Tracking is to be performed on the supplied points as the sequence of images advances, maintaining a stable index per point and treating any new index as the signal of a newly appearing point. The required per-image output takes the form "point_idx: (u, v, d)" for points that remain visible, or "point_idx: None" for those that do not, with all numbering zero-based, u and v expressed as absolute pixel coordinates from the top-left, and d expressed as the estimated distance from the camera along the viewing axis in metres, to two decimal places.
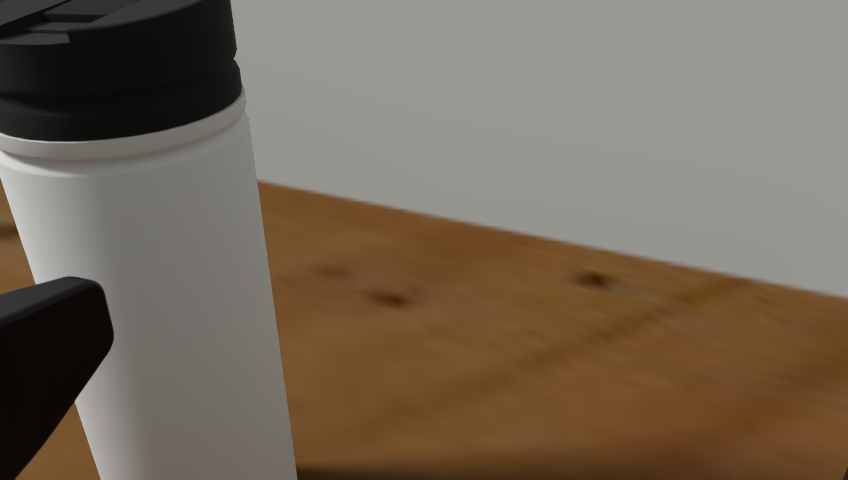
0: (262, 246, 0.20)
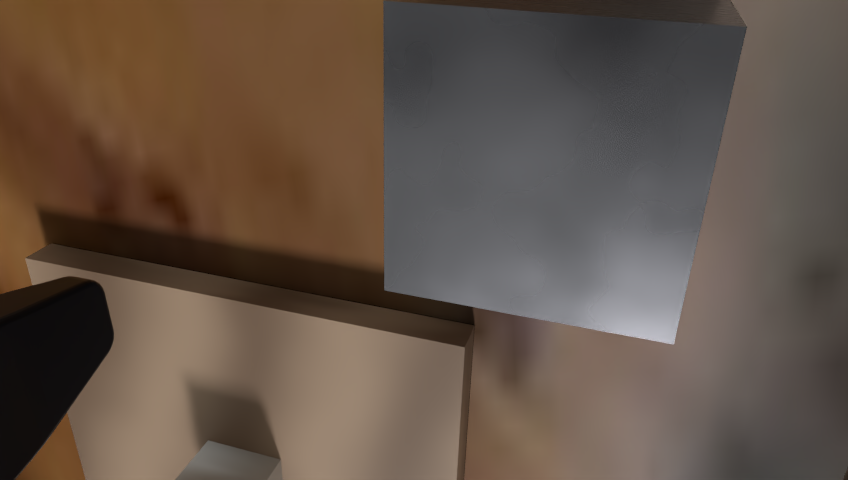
0: None
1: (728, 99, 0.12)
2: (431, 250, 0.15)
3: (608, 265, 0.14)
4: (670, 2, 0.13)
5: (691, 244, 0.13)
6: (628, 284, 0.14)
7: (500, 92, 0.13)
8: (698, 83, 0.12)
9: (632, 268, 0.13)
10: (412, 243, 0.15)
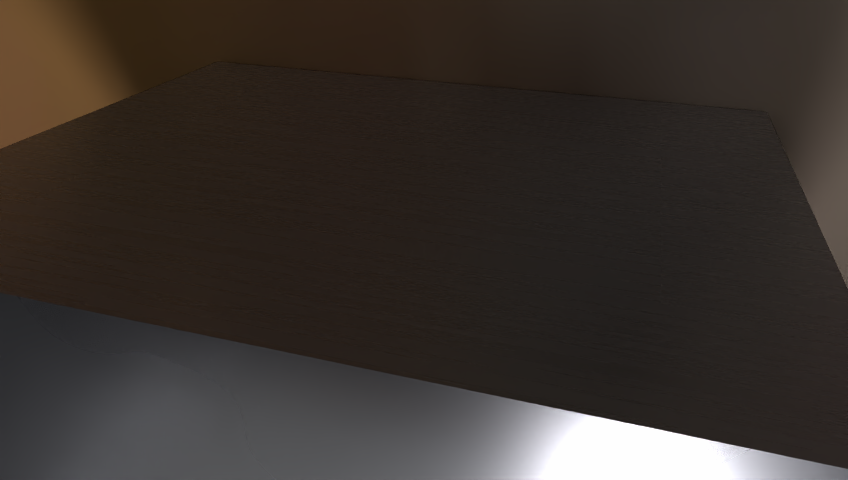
0: None
1: None
2: None
3: None
4: (638, 202, 0.05)
5: None
6: None
7: None
8: None
9: None
10: None
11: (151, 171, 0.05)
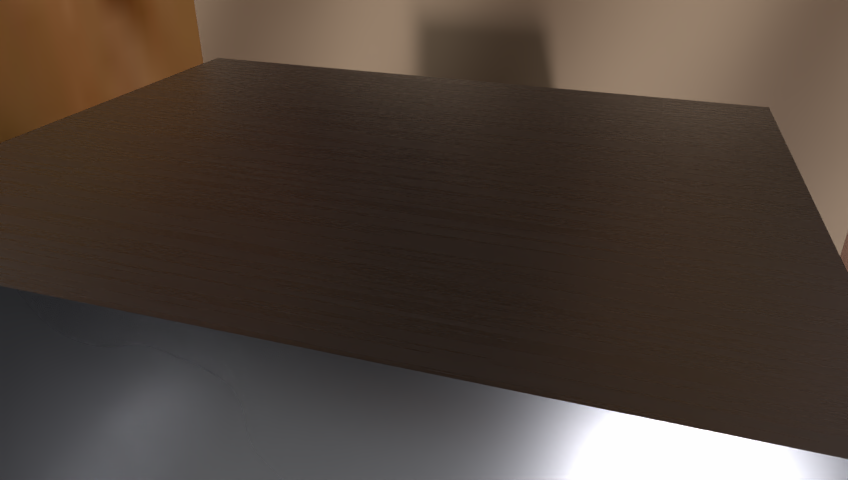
0: None
1: None
2: None
3: None
4: (640, 196, 0.05)
5: None
6: None
7: None
8: None
9: None
10: None
11: (151, 166, 0.05)
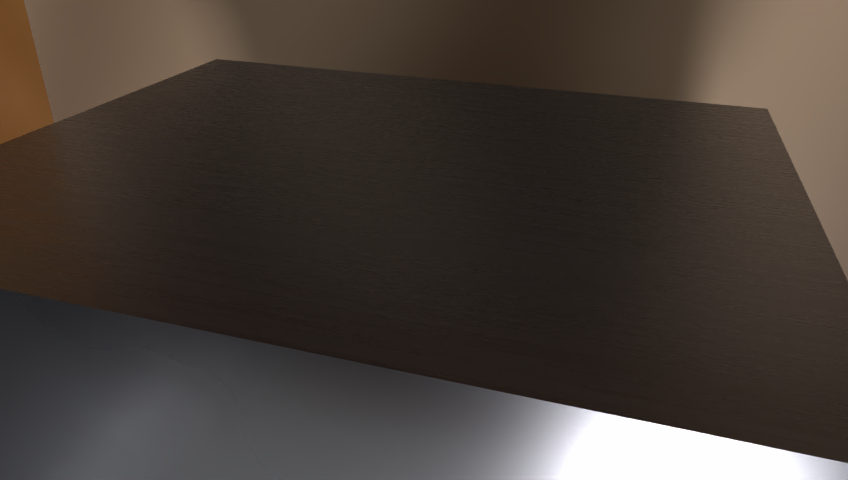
0: None
1: None
2: None
3: None
4: (638, 198, 0.05)
5: None
6: None
7: None
8: None
9: None
10: None
11: (150, 169, 0.05)
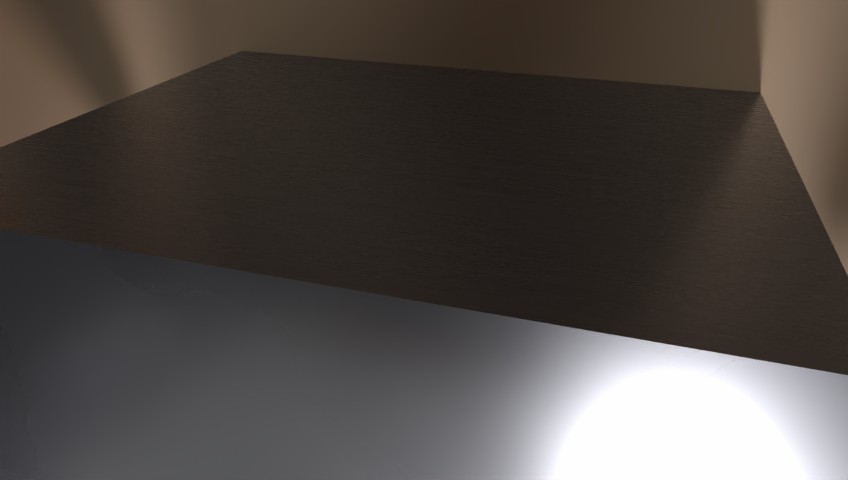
0: None
1: None
2: None
3: None
4: (641, 168, 0.05)
5: None
6: None
7: (185, 440, 0.05)
8: None
9: None
10: None
11: (194, 144, 0.06)
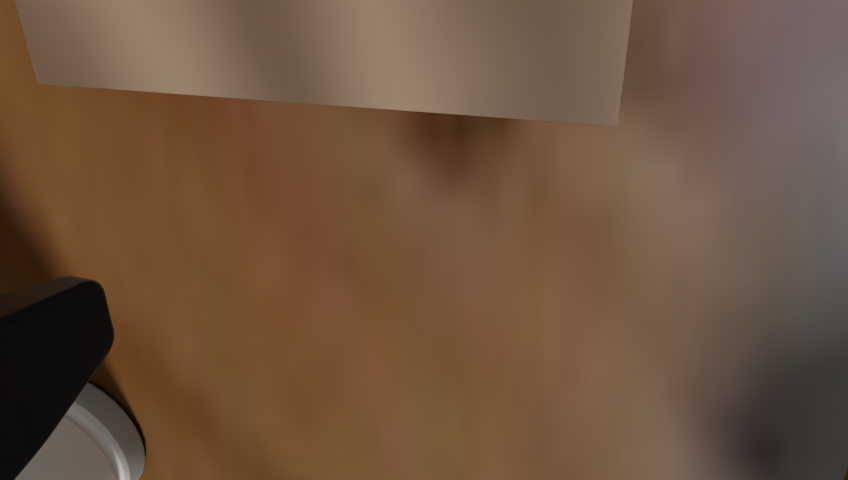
0: None
1: None
2: None
3: None
4: None
5: None
6: None
7: None
8: None
9: None
10: None
11: None
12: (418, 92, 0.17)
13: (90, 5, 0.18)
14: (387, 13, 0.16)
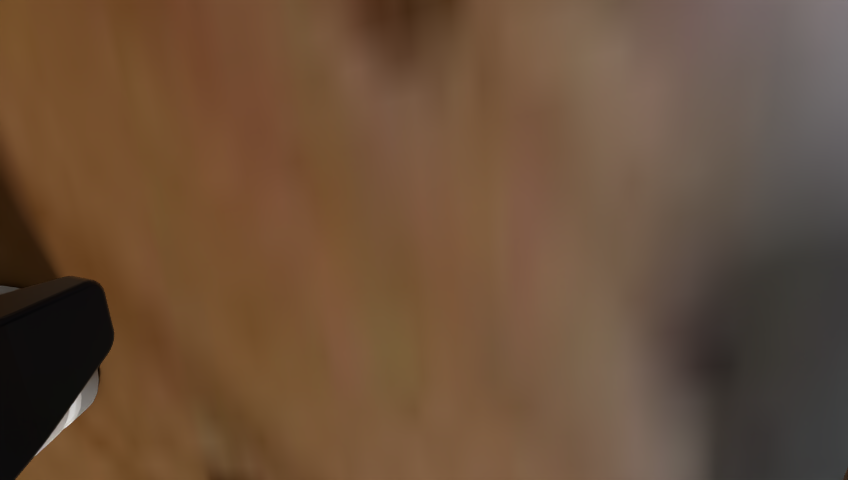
0: None
1: None
2: None
3: None
4: None
5: None
6: None
7: None
8: None
9: None
10: None
11: None
12: None
13: None
14: None
